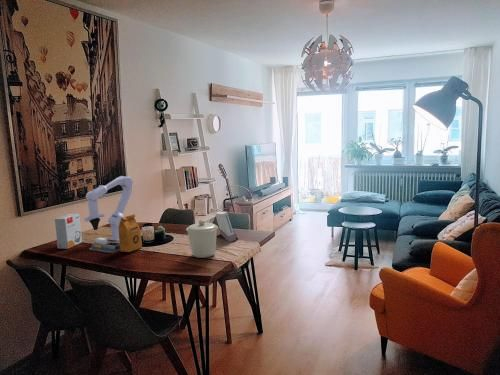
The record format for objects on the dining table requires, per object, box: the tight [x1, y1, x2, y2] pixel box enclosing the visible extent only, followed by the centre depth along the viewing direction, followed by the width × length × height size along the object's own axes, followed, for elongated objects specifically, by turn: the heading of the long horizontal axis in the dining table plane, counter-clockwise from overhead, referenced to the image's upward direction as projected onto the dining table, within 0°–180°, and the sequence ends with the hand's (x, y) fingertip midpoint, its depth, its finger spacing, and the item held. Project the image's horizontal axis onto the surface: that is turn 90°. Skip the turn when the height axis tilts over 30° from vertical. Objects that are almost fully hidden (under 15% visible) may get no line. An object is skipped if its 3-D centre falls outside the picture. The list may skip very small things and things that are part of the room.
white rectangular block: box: [95, 237, 108, 244], centre depth 247 cm, size 3×7×5 cm, turn 64°
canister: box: [185, 219, 219, 259], centre depth 223 cm, size 18×18×21 cm
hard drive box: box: [54, 213, 83, 250], centre depth 255 cm, size 16×8×20 cm, turn 168°
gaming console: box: [214, 211, 239, 243], centre depth 258 cm, size 23×8×20 cm, turn 20°
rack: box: [88, 240, 120, 254], centre depth 245 cm, size 12×20×4 cm, turn 64°
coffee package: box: [118, 213, 143, 253], centre depth 238 cm, size 10×12×22 cm
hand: (95, 229), depth 255 cm, fingers closed
